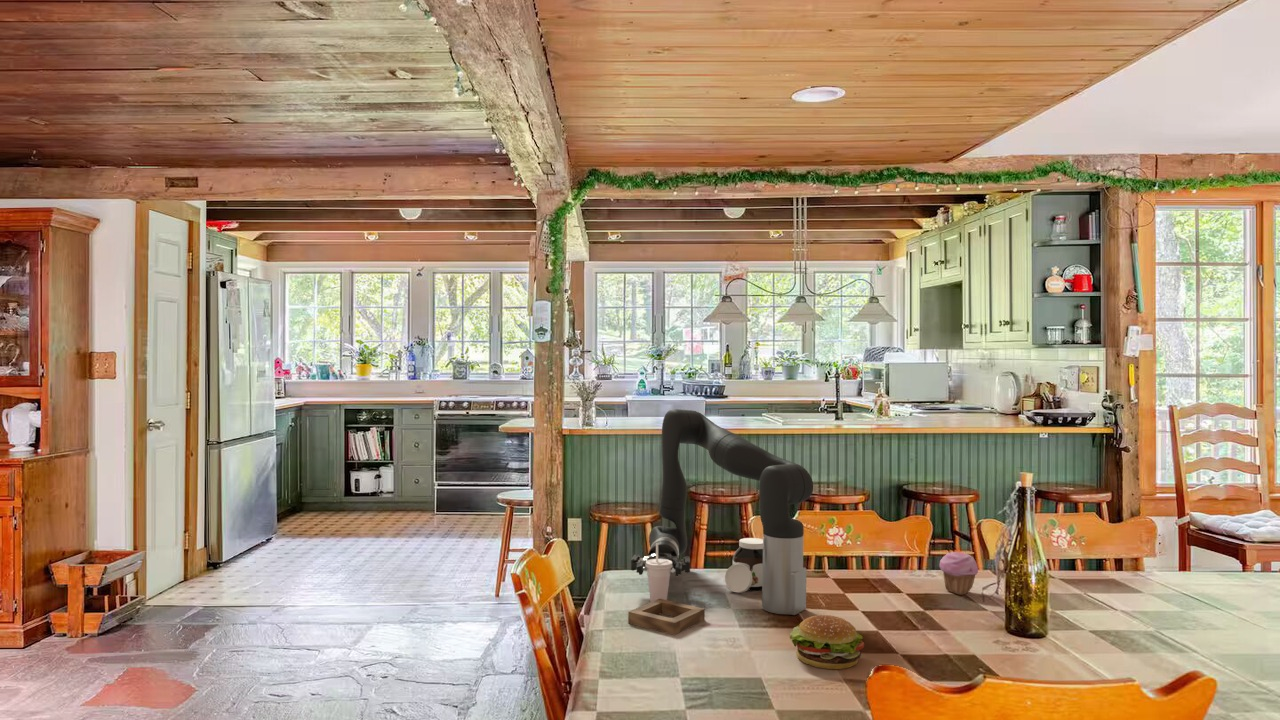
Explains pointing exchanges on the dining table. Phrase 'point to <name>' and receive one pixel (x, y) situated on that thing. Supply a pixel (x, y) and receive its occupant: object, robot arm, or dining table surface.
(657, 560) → the smoothie
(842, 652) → the food
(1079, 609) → the dining table surface
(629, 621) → the walnut socket block
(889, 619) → the dining table surface
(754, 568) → the spread jar
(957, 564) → the cupcake
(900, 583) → the dining table surface
